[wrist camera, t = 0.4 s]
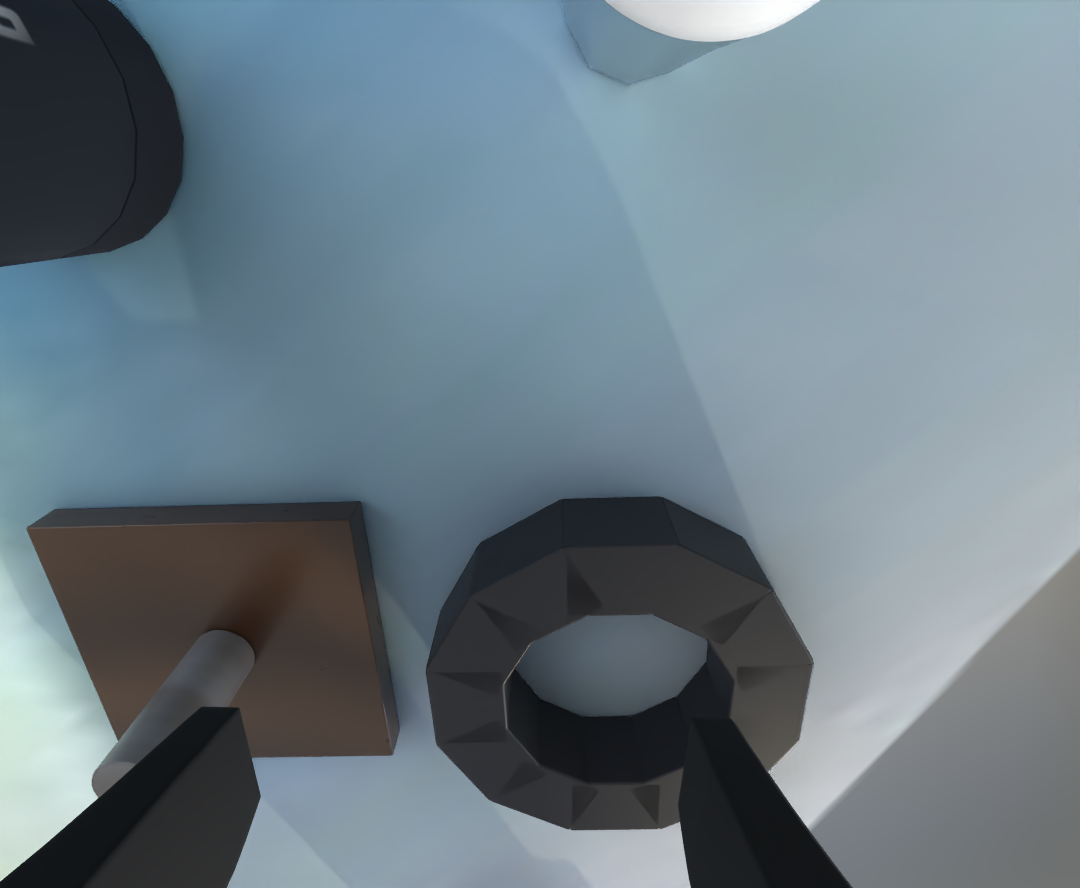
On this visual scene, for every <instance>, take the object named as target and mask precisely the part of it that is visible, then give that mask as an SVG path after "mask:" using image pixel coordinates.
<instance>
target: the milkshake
mask: <svg viewBox="0 0 1080 888" xmlns="http://www.w3.org/2000/svg"><path fill="white" fill-rule="evenodd" d="M818 1H820V0H561V3H562V8H563V14H564V20H565V24H566V26H567V28H568V30H569V32H570V34H571V36H572V37H573V39H574V41H575V43H576V45H577V47H578V49H579V51H580V53H581V55H582V57H583V59H584V60H585V62H586V64H587V66H588V68H591V69H593V70H595V71H597V72H600V73H602V74H604V75H606V76H608V77H611V78H613V79H615V80H617V81H619V82H621V83H623V84H626V85H629V84H632V83H636V82H639V81H642V80H645V79H649V78H652V77H655V76H659V75H662V74H666V73H669V72H671V71H673V70H675V69H677V68H679V67H681V66H683V65H685V64H687V63H689V62H691V61H693V60H695V59H697V58H699V57H701V56H703V55H705V54H707V53H709V52H711V51H713V50H715V49H718V48H721V47H724V46H726V45H729V44H732V43H734V42H737V41H740V40H742V39H745V38H748V37H751V36H755V35H758V34H761V33H764V32H767V31H769V30H771V29H774V28H776V27H778V26H780V25H782V24H784V23H786V22H788V21H789V20H791V19H793V18H794V17H796V16H797V15H799V14H801V13H802V12H804V11H805V10H807V9H808V8H810V7H811V6H813V5H814V4H815V3H817V2H818Z"/></svg>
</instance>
